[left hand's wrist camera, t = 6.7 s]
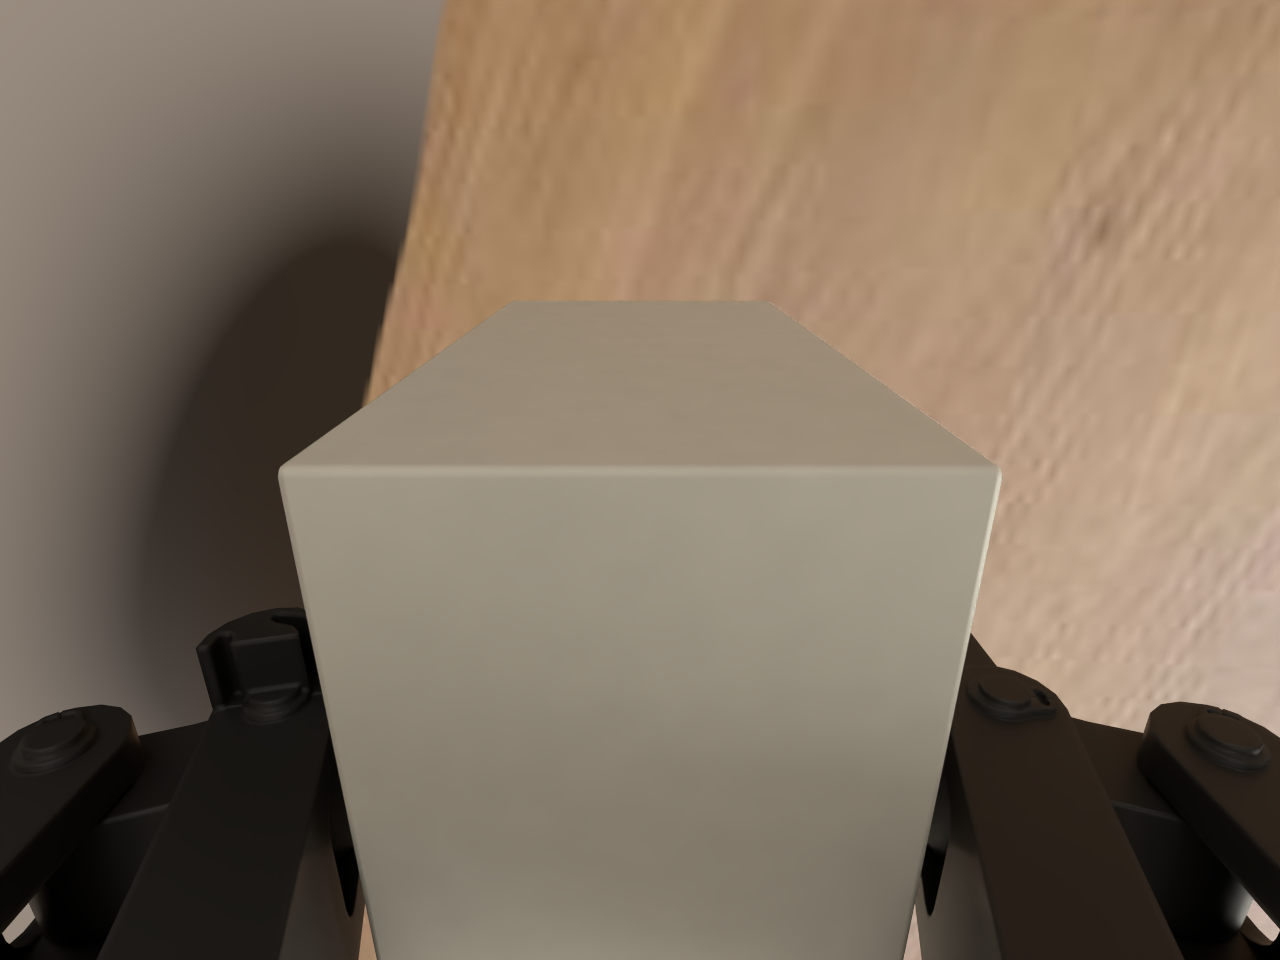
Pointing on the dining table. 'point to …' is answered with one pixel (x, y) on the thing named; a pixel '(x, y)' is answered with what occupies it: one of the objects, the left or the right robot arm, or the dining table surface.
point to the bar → (640, 637)
